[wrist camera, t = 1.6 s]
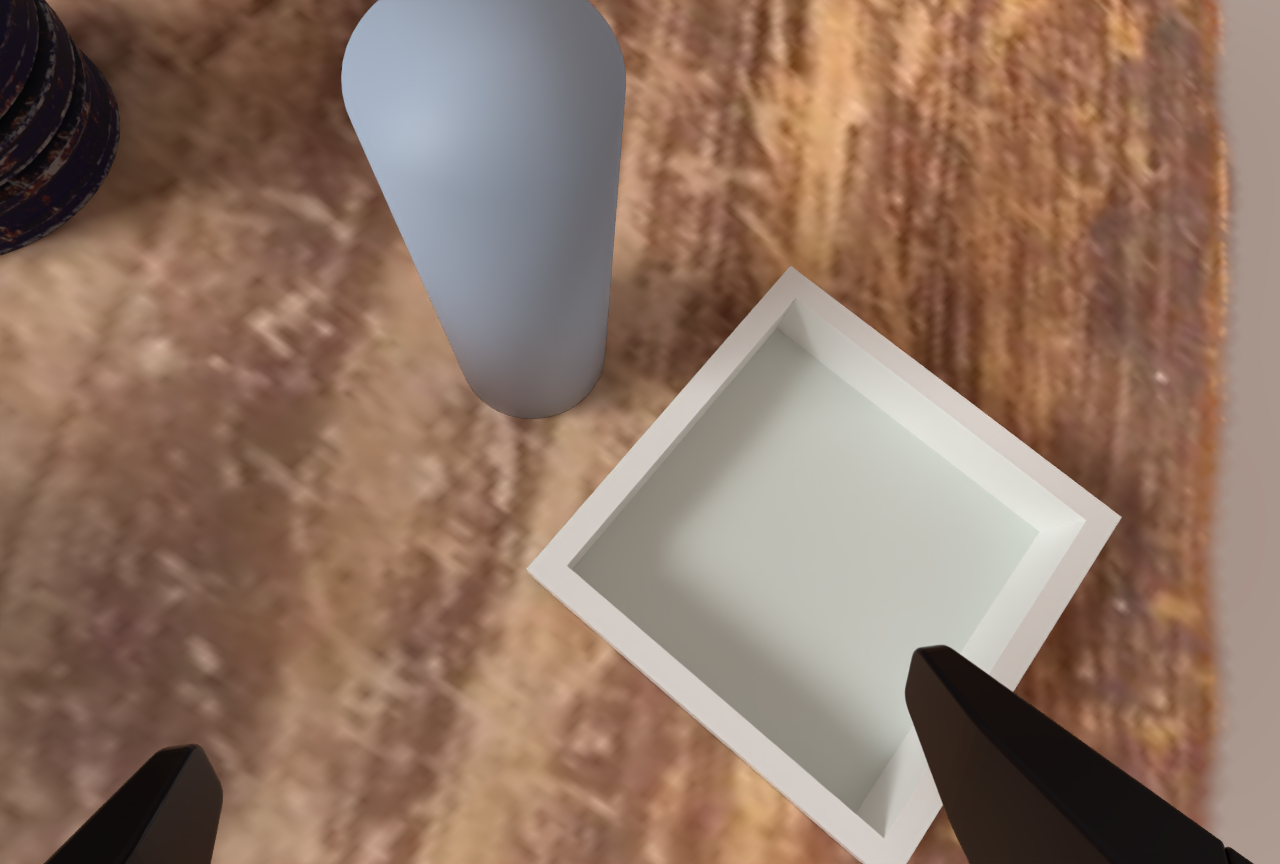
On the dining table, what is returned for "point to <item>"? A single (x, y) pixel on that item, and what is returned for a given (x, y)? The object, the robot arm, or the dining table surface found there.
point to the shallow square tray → (824, 557)
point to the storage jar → (48, 124)
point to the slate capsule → (500, 179)
